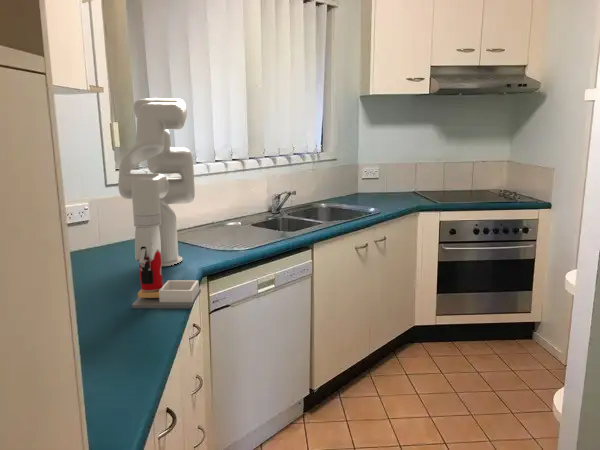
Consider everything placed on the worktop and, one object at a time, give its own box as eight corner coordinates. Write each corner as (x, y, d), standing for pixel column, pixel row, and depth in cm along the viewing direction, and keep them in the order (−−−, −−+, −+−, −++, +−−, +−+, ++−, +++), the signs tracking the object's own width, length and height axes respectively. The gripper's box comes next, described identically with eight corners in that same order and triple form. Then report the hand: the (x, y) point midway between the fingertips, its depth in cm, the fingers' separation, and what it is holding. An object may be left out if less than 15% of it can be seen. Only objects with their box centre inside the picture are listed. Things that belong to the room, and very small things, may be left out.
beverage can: (165, 285, 153) (162, 247, 151) (160, 292, 147) (157, 252, 145) (144, 286, 153) (141, 247, 151) (138, 293, 147) (135, 253, 145)
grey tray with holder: (147, 291, 158) (146, 277, 157) (200, 291, 158) (200, 278, 157) (132, 308, 144) (130, 293, 143) (190, 308, 144) (189, 293, 143)
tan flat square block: (145, 293, 154) (144, 285, 153) (166, 293, 154) (165, 286, 153) (138, 301, 148) (137, 293, 147) (160, 301, 148) (159, 293, 147)
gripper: (144, 214, 155) (147, 271, 158) (123, 226, 138) (128, 289, 141) (168, 214, 154) (171, 271, 158) (151, 226, 137) (155, 289, 141)
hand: (151, 279), depth 150 cm, fingers closed on beverage can, 6 cm apart
